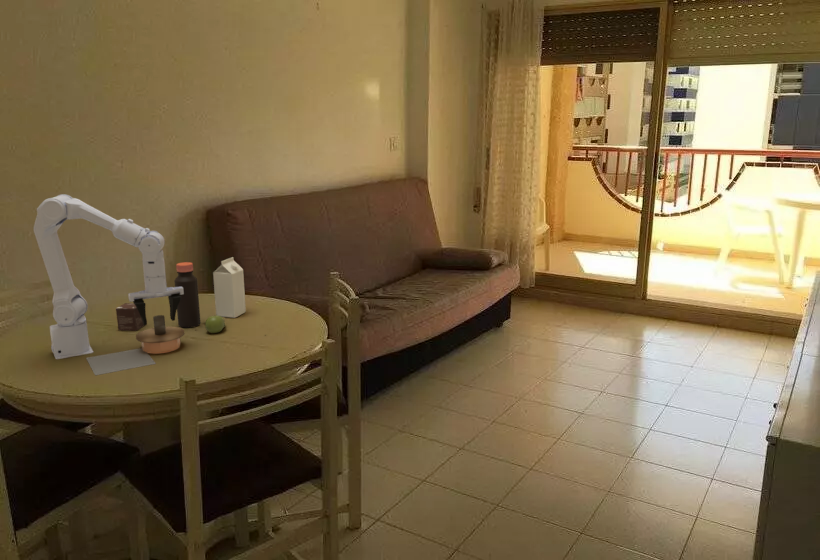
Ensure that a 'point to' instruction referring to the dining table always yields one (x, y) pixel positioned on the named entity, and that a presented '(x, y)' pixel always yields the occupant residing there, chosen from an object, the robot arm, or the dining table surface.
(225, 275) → the milk carton
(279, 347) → the dining table surface
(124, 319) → the box
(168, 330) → the lid
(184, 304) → the bottle
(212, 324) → the pear
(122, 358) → the mat
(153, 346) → the bowl
